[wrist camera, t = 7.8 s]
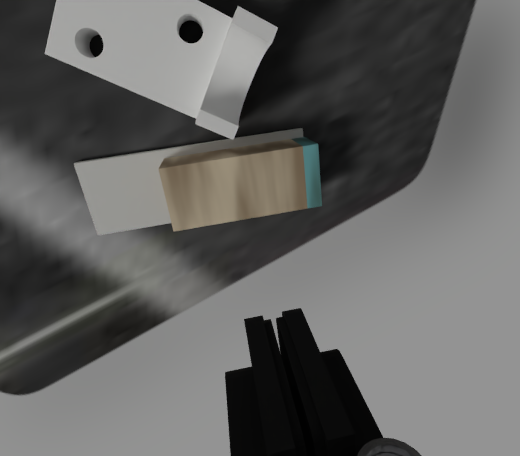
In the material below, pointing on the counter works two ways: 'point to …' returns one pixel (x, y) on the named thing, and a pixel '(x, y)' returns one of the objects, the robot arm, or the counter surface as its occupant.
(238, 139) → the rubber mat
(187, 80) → the bracket
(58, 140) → the counter surface
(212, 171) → the maple block
